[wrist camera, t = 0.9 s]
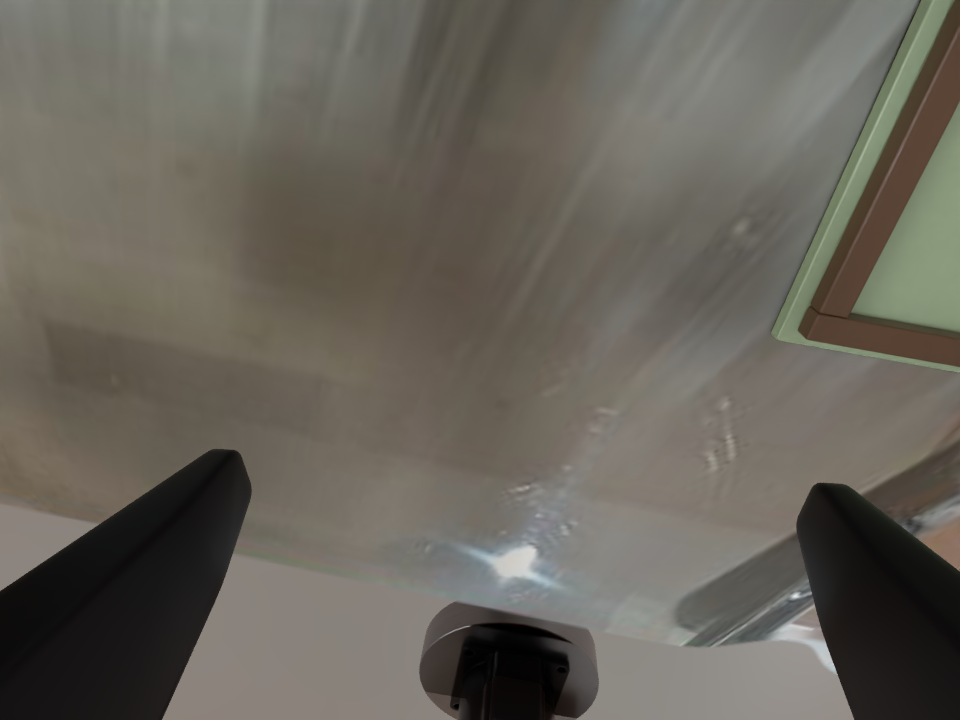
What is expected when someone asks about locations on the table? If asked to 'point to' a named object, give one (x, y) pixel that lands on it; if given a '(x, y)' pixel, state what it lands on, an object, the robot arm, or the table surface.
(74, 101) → the table surface
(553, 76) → the table surface
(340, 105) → the table surface
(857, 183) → the base pad
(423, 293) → the table surface
